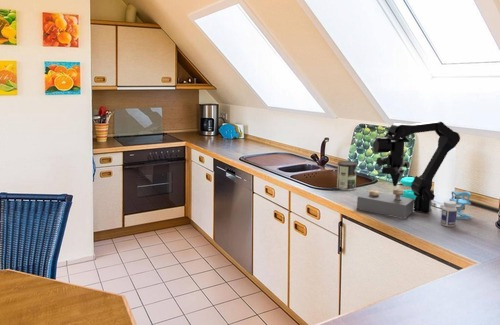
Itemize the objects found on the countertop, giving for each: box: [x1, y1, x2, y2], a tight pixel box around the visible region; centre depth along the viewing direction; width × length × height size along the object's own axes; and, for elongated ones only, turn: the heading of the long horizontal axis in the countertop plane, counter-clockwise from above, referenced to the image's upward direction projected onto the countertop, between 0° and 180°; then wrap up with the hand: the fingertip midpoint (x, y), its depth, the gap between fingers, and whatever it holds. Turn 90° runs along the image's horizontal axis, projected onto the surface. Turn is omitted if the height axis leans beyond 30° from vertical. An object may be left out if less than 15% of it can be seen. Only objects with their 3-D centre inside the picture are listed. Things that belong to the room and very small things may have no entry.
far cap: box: [368, 189, 380, 197], centre depth 202 cm, size 4×4×7 cm
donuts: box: [400, 176, 417, 200], centre depth 219 cm, size 10×10×10 cm
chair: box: [449, 190, 472, 220], centre depth 192 cm, size 8×8×12 cm
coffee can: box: [336, 160, 358, 191], centre depth 237 cm, size 10×10×14 cm
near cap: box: [392, 188, 404, 201], centre depth 195 cm, size 4×4×7 cm
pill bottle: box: [440, 200, 458, 228], centre depth 181 cm, size 6×6×10 cm
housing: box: [356, 190, 414, 219], centre depth 199 cm, size 22×12×6 cm, turn 53°
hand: (394, 185), depth 195 cm, fingers closed
